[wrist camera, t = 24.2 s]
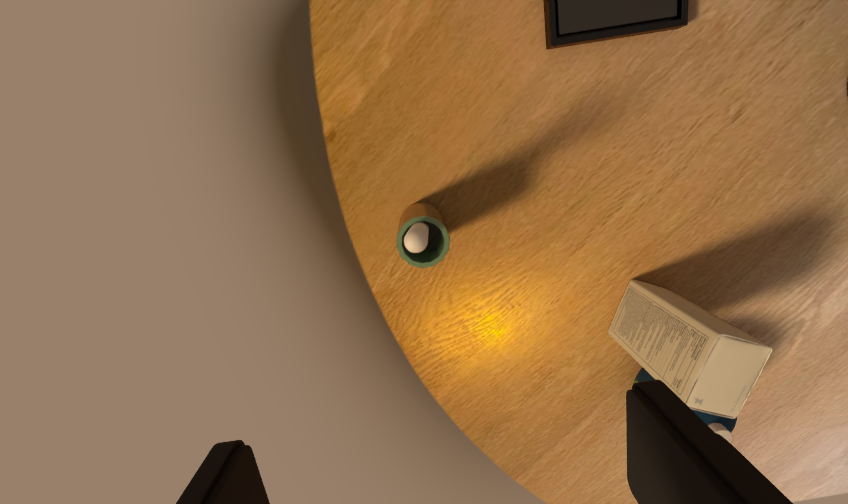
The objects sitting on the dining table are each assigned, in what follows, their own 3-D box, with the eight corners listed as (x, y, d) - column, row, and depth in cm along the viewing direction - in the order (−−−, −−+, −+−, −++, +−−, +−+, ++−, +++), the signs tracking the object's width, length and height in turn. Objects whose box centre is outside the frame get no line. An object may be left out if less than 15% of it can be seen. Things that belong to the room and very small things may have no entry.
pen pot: (395, 205, 37) (392, 221, 30) (440, 199, 36) (446, 212, 30) (403, 247, 38) (400, 271, 31) (446, 241, 38) (453, 263, 31)
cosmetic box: (644, 342, 41) (735, 423, 29) (604, 332, 41) (681, 410, 29) (670, 286, 39) (778, 349, 28) (629, 275, 39) (721, 334, 27)
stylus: (412, 219, 36) (401, 232, 23) (427, 216, 36) (425, 228, 23) (415, 234, 37) (405, 256, 23) (430, 231, 37) (429, 252, 23)
